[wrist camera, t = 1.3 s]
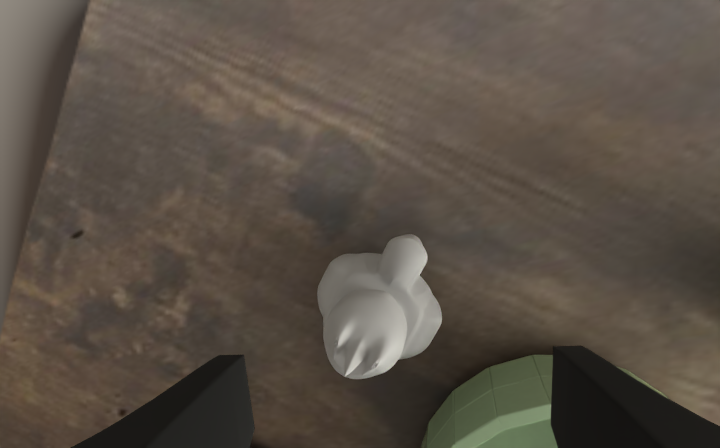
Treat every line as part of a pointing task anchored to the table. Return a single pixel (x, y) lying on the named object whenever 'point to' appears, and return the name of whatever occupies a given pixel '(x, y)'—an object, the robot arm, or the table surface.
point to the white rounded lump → (377, 308)
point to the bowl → (500, 408)
